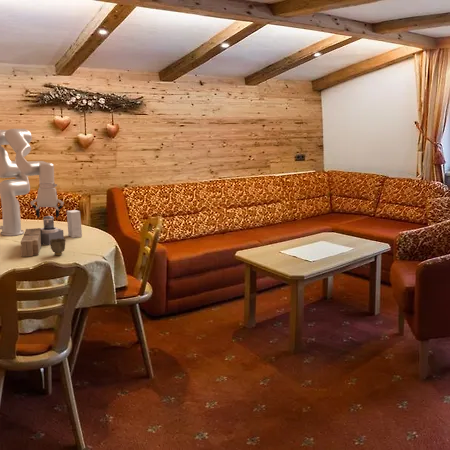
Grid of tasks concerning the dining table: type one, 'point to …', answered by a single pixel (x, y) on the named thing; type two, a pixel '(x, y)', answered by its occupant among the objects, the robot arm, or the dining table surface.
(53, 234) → the camera body
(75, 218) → the skincare box
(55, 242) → the cup
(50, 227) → the lens
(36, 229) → the block tower
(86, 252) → the dining table surface
